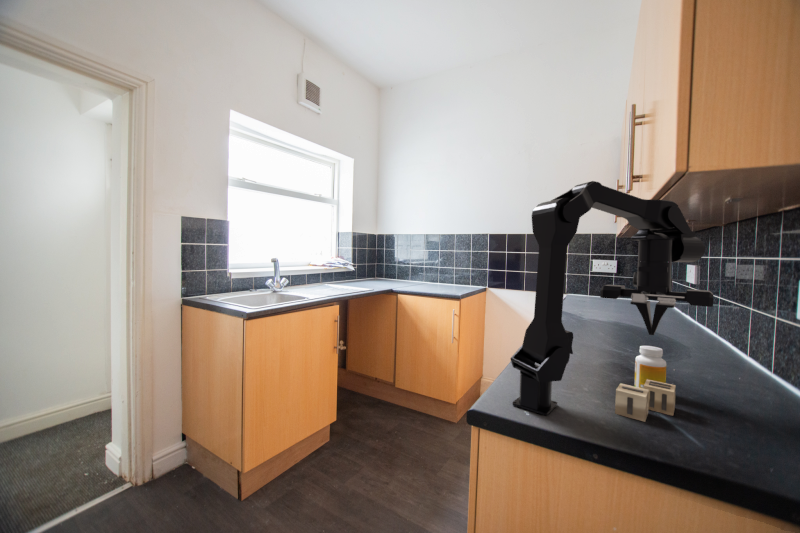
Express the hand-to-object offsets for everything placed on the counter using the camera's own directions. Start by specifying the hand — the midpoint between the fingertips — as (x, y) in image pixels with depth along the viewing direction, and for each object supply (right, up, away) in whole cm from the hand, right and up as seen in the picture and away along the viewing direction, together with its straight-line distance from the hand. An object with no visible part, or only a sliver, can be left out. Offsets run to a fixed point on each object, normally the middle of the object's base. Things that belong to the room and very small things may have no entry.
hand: (651, 334), depth 71 cm
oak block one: (-11, -13, -9) cm, 19 cm away
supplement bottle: (0, -13, 0) cm, 13 cm away
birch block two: (-4, -13, -7) cm, 15 cm away
